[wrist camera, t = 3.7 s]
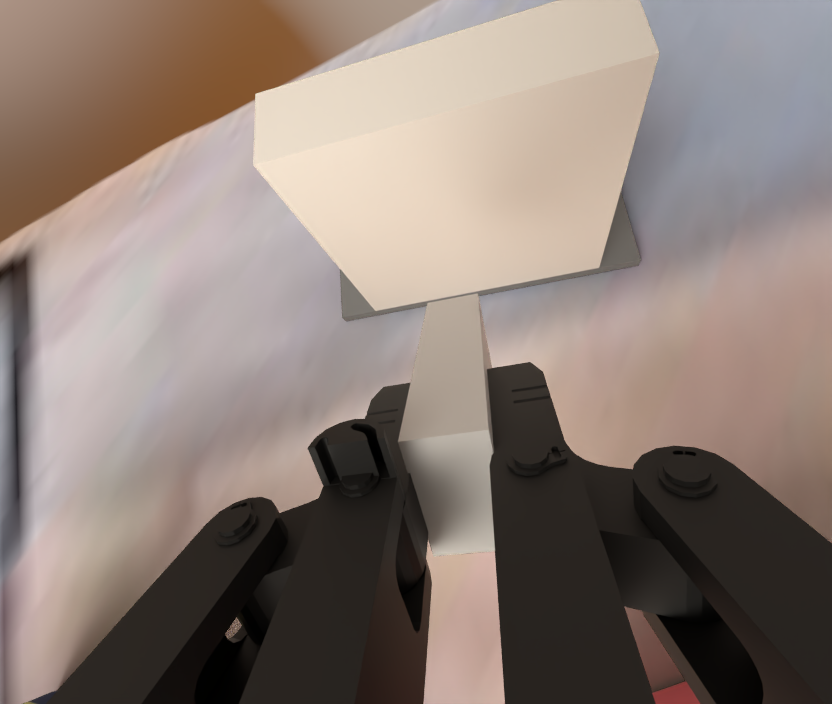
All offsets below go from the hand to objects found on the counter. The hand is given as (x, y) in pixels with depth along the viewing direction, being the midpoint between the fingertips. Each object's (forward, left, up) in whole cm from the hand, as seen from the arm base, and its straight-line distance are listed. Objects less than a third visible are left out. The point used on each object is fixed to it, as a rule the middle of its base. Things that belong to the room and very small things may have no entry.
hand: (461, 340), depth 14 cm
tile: (0, -8, -9) cm, 12 cm away
